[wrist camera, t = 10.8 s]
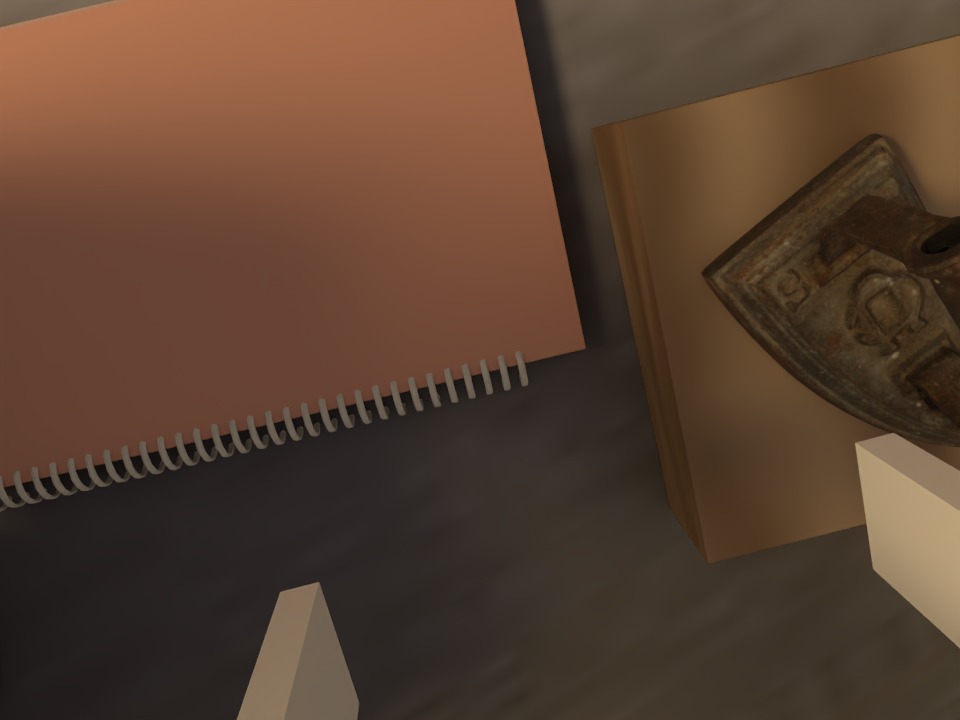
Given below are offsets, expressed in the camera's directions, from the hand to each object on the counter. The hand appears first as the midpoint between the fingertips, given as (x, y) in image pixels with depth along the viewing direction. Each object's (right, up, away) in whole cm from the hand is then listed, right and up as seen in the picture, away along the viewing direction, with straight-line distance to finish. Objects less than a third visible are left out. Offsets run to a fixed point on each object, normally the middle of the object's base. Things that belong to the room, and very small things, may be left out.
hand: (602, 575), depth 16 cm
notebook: (-13, +9, +16) cm, 23 cm away
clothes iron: (+11, +5, +13) cm, 18 cm away
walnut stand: (+11, +7, +17) cm, 21 cm away
